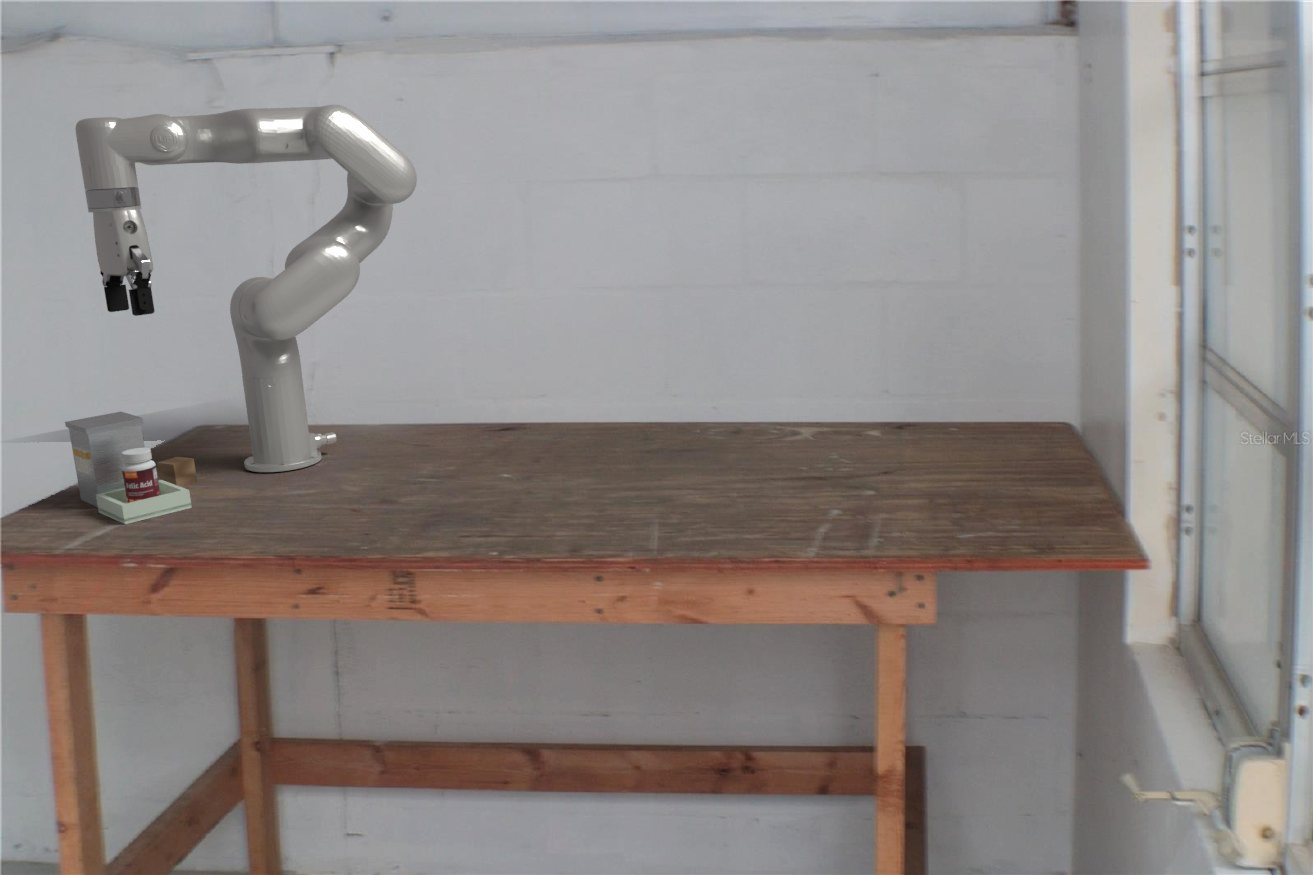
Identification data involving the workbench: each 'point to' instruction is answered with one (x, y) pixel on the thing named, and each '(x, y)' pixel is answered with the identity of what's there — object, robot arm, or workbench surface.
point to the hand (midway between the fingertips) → (131, 312)
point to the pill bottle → (139, 475)
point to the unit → (103, 451)
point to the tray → (143, 503)
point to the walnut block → (177, 471)
